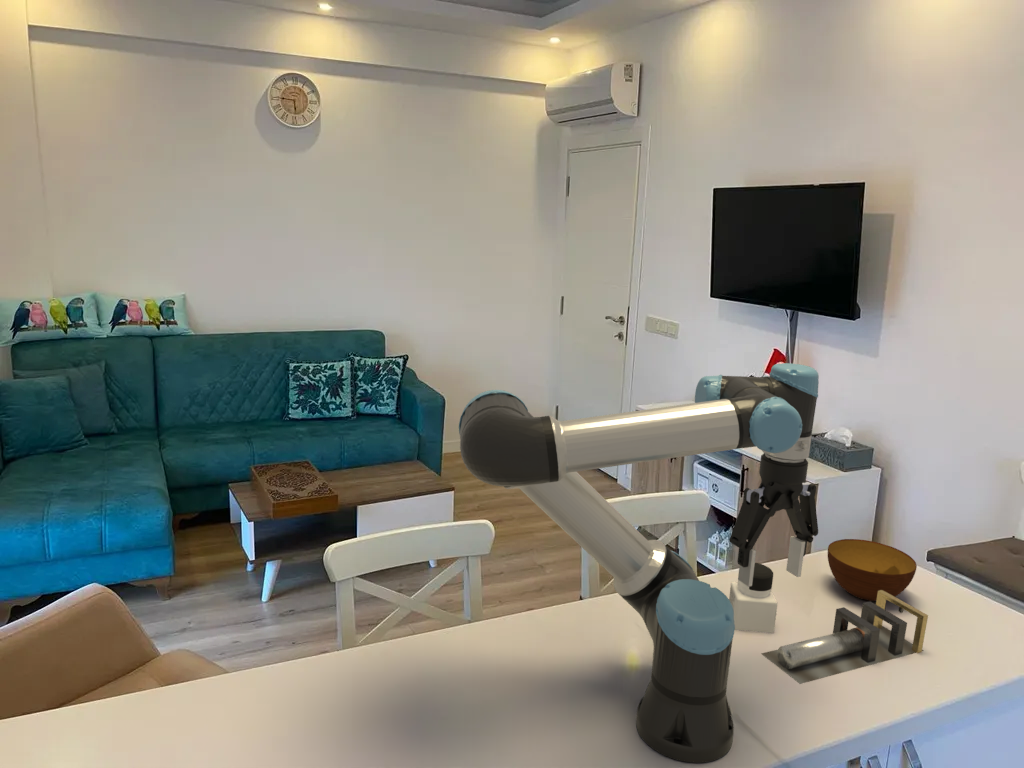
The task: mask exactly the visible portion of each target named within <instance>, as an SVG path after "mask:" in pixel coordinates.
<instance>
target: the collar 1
mask: <svg viewBox="0 0 1024 768" xmlns="http://www.w3.org/2000/svg"><path fill="white" fill-rule="evenodd" d="M849 624H852V625H853V626H854V627H855V628H856V627H858V628H859V629H861V630H863V631H864V632H865V635H864V641H863V648H862V654H861V659H862V660H864V661H865V662H867V663H869V662H873V661H875V659H876V653H877V647H878V640H879V634H880V629H879V628H877V627H876V626H874V625H872V624H871V623H869V622H867V621H866V620H864V619H862V618H861V616H859V615H858V614H856V613H854V612H853V611H851V610H849V609H848V608H846V607H840V608H839V607H838V608H836V609H835V616H834V624H833V630H832V634H834V633H838V632H842V631H846V630H849V629H848V628H849Z"/></svg>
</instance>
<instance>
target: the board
mask: <svg viewBox="0 0 1024 768" xmlns="http://www.w3.org/2000/svg"><path fill="white" fill-rule="evenodd" d="M879 629H880V634H879V640H878V647H877V653H876V659H875V661H873V662H869V663H867V662H865V661H864V660H862V659H861V654H862V651H857V652H853V653H849V654H845V655H841V656H838V657H834V658H830V659H826V660H822V661H818V662H815V663H811V664H807V665H803V666H799V667H796V668H792V669H786V668H784V667H783V666H782V665H781V663H780V661H779V659H778V649H774V650H771V651H766V652H761V653H760V654H761V655H762V656H763V657H765V658H766V659H767V660H769V662H771V663H772V664H774V665H775V666H776V667H778V668H779V669H780V670H781V671H782V672H784V673H785V674H787V676H789V677H790V678H791V679H793V680H794V681H796V682H797V683H798V684H799V685H803V684H805V683H810V682H813V681H816V680H820V679H821V680H822V679H824V678H828V677H832V676H835V675H838V674H842V673H847V672H850V671H853V670H858V669H861V668H865V667H869V666H873V665H876V664H879V663H883V662H887V661H892V660H895V659H899V658H903V657H906V656H909V655H913V654H917V653H916V652H914V651H912V646H913V642H910V641H909V640H907V639H906V638H905V639H904V645H903V651H902V654H899V655H895V656H894V655H893V654H891V653H890V652H888V647H889V641H890V635H891V629H889V628H887V627H885V626H884V625H882V628H879ZM922 652H924V650H923V649H922Z"/></svg>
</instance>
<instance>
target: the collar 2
mask: <svg viewBox="0 0 1024 768" xmlns="http://www.w3.org/2000/svg"><path fill="white" fill-rule="evenodd" d="M875 616H877V617H879V618H880V619H882V620H883V621H884V622H886V623H888V624H889V625H891V629H890V631H891V635H890V641H889V647H888V652H890V653H891V654H893V655H894V656H895V655H899V654H902V651H903V645H904V639H905V640H906V633H907V627H908V622H907V621H905V620H903V619H902V618H900V617H898V616H896V615H894V614H893V613H891V612H890V611H888V610H886V609H885V610H884V609H883V608H881V607H879V606H877V605H876V603H874V602H873V601H867V602H862V607H861V613H860V617H861V618H862V619H864V620H866V621H867V622H869V623H871V624H872V625H873V624H874V618H875Z"/></svg>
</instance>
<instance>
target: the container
mask: <svg viewBox="0 0 1024 768" xmlns="http://www.w3.org/2000/svg"><path fill="white" fill-rule="evenodd" d="M773 582H774V571H773V570H772V569H771V568H770V567H768V566H767V565H765V564H762V563H759V562H755V565H754V573H753V582H752V586H749V587H748V586H747V585H745V584H744V583H742V582H741V581H739V580H738V579H737V581H731V582H730V588H729V598H728V599H729V600H730V602H731V604H732V606H733V610H734V625H735V630H734V631H743V632H755V633H766V634H774V633H775V628H776V620H777V619H776V618H777V612H778V611H777V610H778V601H777V599H776V597H775V595H774V593H773V590H772V589H773Z"/></svg>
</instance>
